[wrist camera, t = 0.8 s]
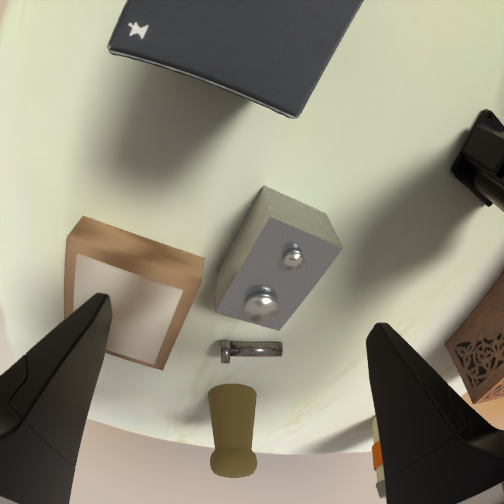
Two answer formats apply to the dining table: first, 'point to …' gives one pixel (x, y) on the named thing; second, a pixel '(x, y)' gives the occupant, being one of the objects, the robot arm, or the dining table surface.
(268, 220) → the housing
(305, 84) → the small box
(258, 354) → the loose bolt
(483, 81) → the dining table surface
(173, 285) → the picture frame
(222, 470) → the cork
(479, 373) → the tissue box cover
